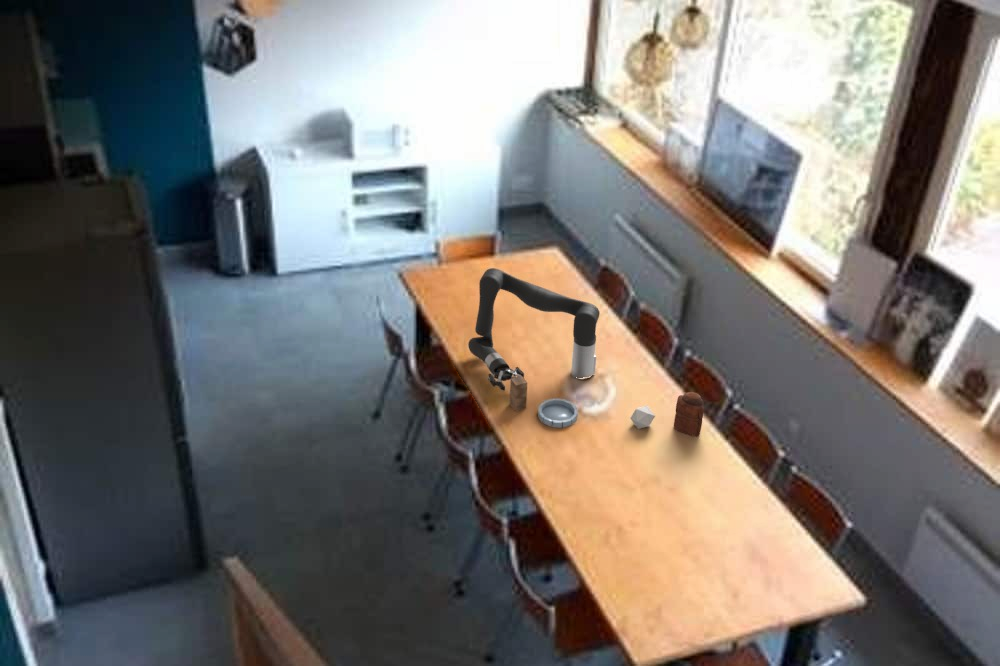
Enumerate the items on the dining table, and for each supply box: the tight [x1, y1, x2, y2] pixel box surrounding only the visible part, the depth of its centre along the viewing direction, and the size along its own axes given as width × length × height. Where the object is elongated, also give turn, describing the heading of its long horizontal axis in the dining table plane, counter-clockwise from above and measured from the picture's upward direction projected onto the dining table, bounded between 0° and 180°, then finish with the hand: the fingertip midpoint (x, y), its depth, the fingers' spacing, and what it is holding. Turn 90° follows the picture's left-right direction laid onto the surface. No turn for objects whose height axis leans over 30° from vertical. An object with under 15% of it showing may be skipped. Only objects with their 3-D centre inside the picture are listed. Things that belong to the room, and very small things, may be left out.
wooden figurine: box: [673, 391, 705, 437], centre depth 409 cm, size 12×6×18 cm, turn 61°
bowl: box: [537, 397, 578, 429], centre depth 419 cm, size 16×16×3 cm
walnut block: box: [509, 376, 528, 412], centre depth 420 cm, size 5×5×13 cm
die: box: [629, 405, 656, 430], centre depth 413 cm, size 8×9×10 cm
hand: (513, 386), depth 423 cm, fingers open, 8 cm apart
